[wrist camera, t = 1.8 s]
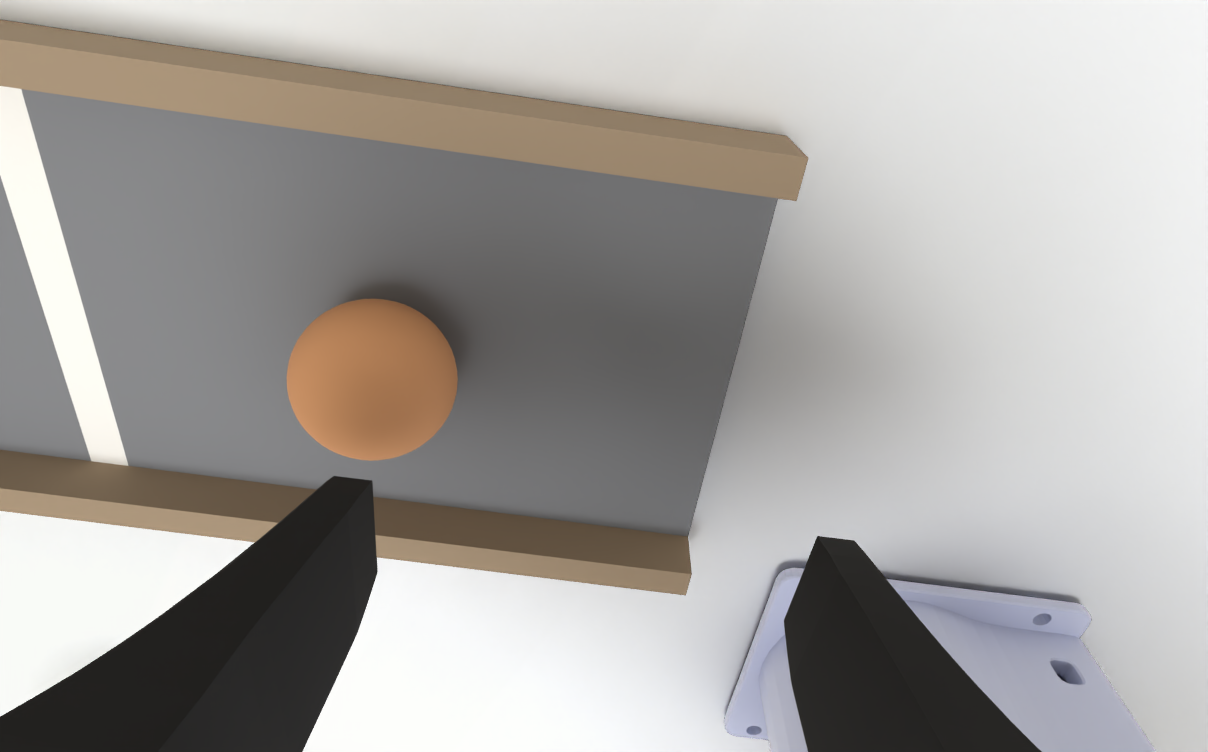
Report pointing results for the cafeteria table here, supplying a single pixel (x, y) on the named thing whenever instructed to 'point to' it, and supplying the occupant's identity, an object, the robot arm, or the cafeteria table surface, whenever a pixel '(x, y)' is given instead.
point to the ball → (372, 379)
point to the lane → (367, 271)
